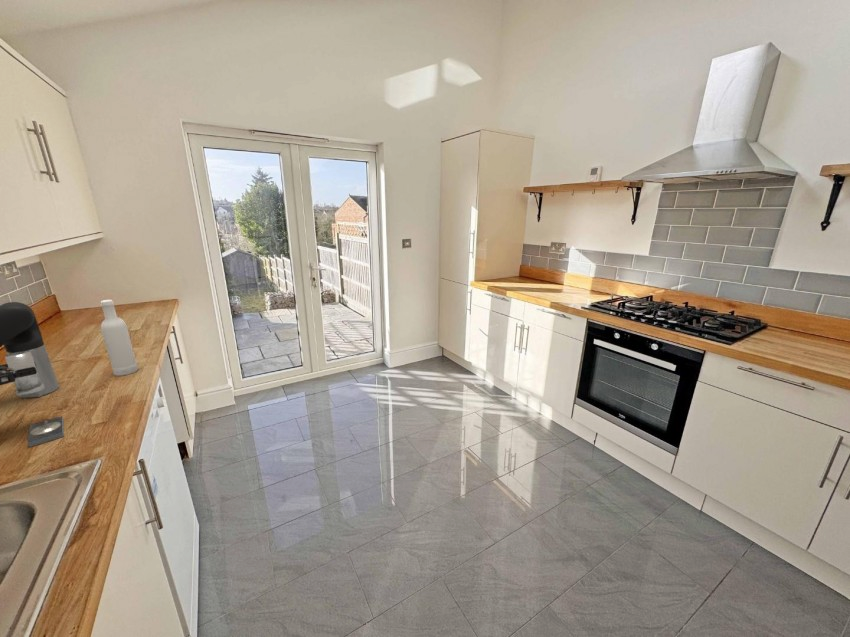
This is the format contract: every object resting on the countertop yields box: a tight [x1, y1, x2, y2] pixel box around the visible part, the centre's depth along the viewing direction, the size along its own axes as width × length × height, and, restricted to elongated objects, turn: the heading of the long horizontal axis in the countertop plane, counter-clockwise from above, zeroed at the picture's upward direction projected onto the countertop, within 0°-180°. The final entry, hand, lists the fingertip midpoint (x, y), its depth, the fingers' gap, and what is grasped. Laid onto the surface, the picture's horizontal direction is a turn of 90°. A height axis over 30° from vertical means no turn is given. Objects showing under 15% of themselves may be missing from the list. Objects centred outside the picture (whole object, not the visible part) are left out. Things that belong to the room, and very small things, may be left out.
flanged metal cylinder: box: [4, 351, 45, 397], centre depth 108 cm, size 6×6×12 cm
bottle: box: [100, 299, 139, 377], centre depth 143 cm, size 8×8×30 cm
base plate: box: [27, 415, 65, 448], centre depth 107 cm, size 12×7×2 cm, turn 44°
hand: (35, 367), depth 110 cm, fingers closed on flanged metal cylinder, 5 cm apart
